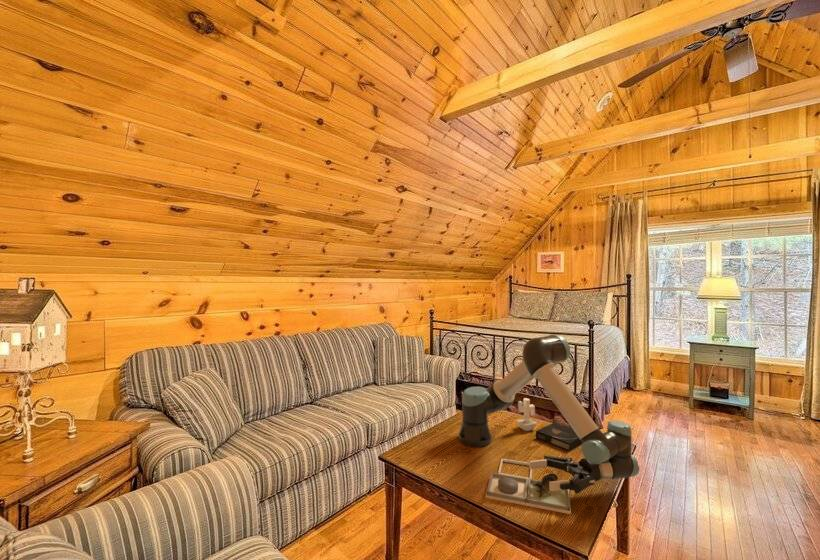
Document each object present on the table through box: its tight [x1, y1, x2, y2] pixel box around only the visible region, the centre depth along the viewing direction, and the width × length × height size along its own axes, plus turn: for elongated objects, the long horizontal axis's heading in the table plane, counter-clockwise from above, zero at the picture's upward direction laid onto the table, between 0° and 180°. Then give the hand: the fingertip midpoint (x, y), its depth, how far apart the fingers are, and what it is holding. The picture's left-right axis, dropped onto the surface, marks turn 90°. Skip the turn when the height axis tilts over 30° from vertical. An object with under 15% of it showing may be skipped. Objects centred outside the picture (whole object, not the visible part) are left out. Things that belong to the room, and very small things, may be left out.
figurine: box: [515, 397, 538, 432], centre depth 189 cm, size 7×9×15 cm
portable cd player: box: [535, 421, 583, 452], centre depth 177 cm, size 16×17×4 cm
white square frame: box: [497, 458, 533, 482], centre depth 150 cm, size 12×12×1 cm
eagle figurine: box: [532, 472, 559, 498], centre depth 133 cm, size 8×7×9 cm
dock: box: [485, 472, 572, 515], centre depth 135 cm, size 27×13×3 cm, turn 70°
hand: (539, 475), depth 131 cm, fingers open, 13 cm apart
